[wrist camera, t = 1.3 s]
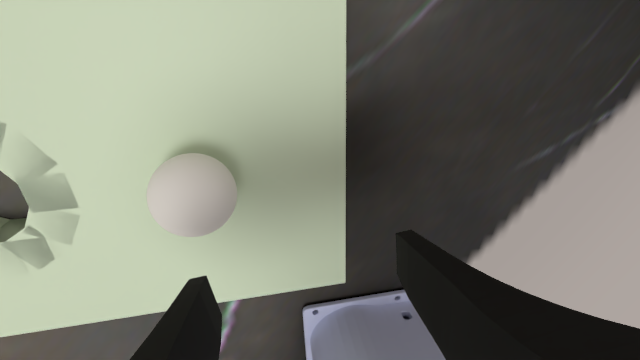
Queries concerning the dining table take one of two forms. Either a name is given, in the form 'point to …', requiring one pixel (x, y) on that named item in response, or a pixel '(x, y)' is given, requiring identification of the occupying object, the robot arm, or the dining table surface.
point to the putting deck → (167, 151)
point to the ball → (191, 195)
